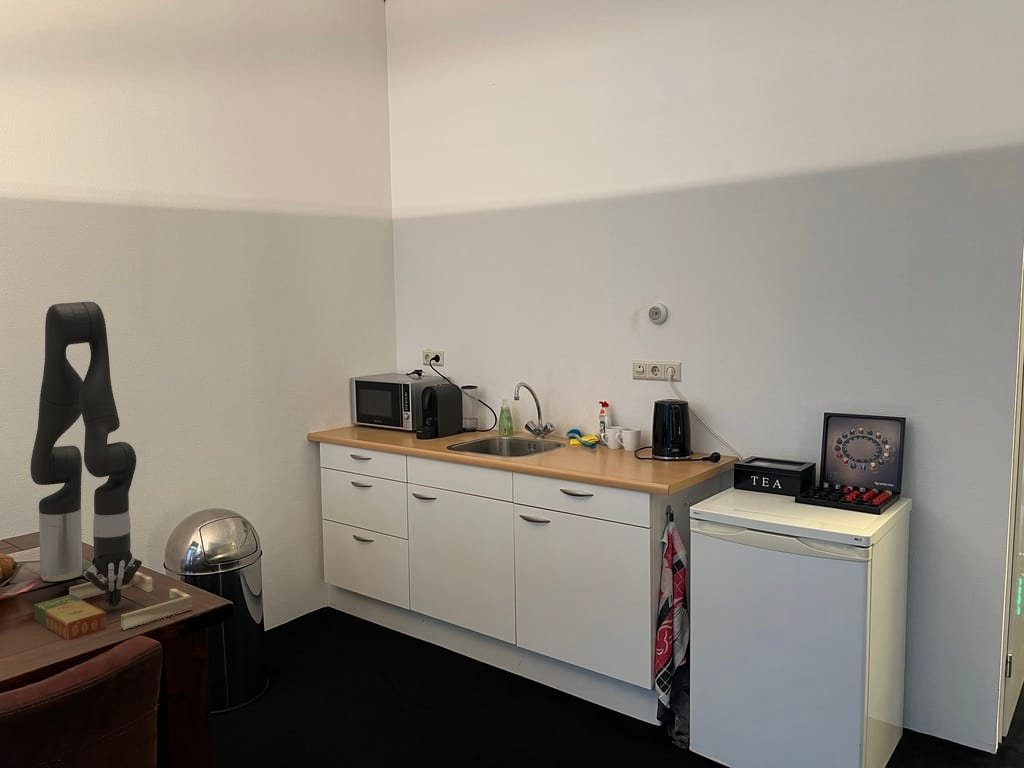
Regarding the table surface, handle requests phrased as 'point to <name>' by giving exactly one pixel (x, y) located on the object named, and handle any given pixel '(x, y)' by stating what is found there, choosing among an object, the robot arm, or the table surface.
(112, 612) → the table surface
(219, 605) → the table surface
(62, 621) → the carton
